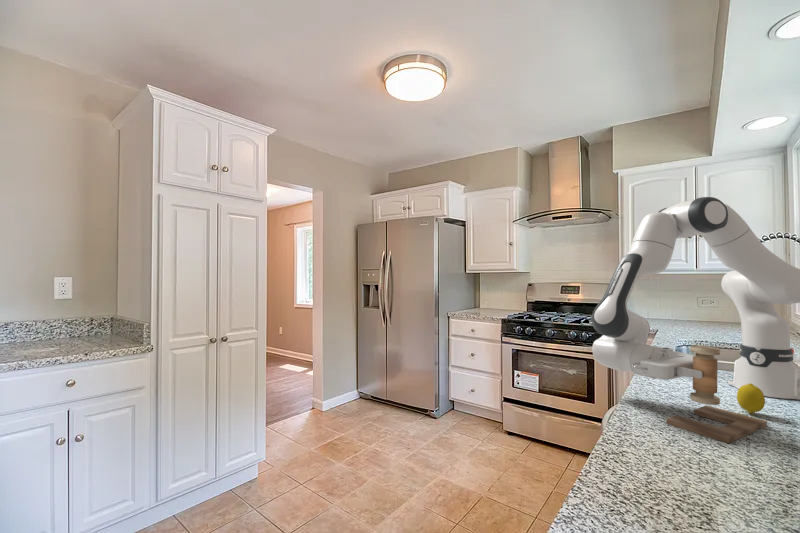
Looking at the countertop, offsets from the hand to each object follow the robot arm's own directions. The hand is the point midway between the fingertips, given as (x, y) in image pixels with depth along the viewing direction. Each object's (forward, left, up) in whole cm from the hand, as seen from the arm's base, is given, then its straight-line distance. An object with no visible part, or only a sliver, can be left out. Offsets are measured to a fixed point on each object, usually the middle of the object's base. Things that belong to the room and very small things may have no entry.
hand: (709, 373), depth 95 cm
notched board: (-1, +1, -12) cm, 13 cm away
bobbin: (0, -1, -7) cm, 7 cm away
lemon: (-18, +2, -13) cm, 22 cm away
